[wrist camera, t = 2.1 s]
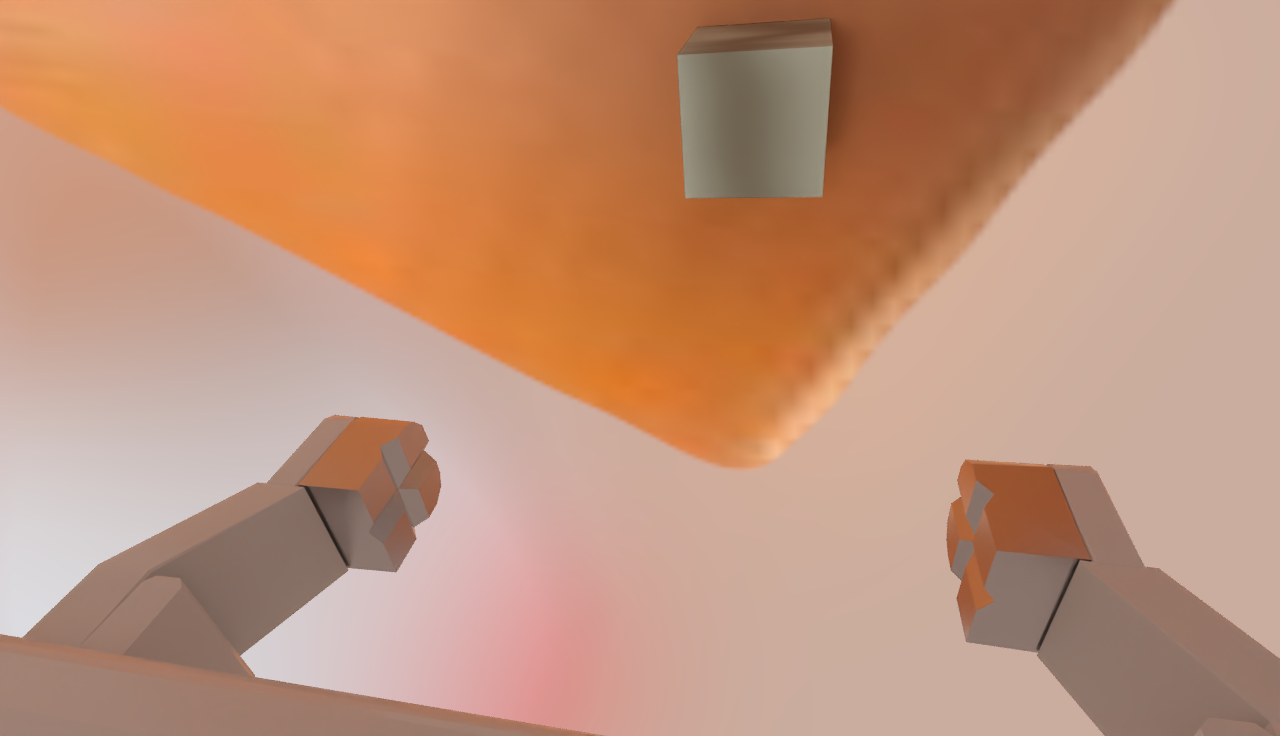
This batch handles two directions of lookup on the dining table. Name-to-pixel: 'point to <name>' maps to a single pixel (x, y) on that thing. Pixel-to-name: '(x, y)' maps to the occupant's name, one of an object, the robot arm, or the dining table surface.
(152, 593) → the robot arm
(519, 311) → the dining table surface
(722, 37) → the sage cube
